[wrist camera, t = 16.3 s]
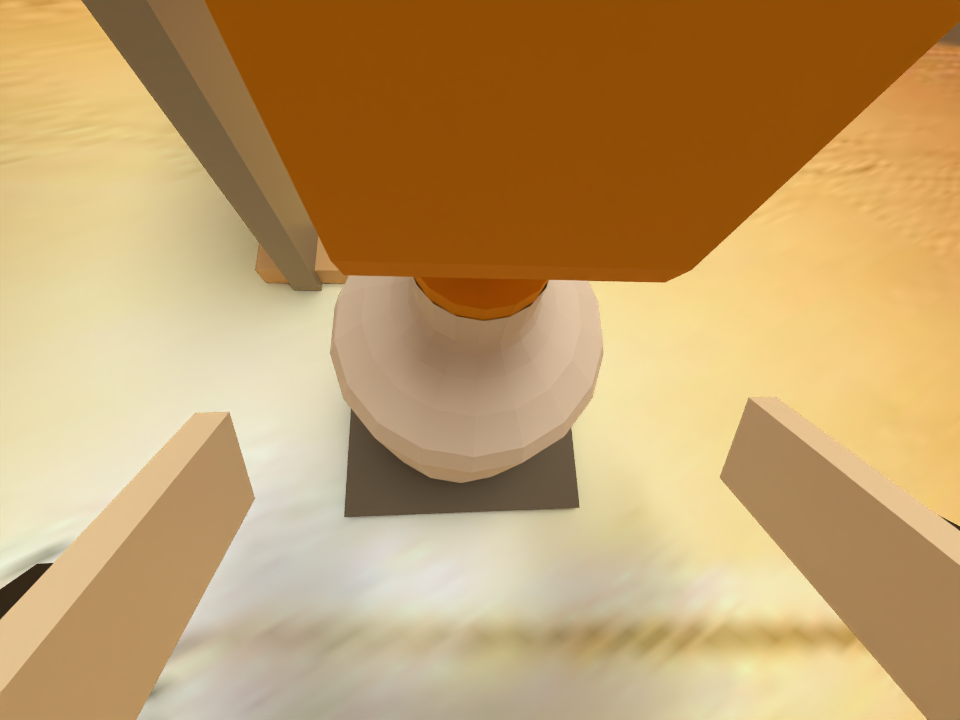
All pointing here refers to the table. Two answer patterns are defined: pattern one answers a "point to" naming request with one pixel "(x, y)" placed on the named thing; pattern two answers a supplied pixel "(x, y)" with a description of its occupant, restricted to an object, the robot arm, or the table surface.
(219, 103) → the divider
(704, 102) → the soap bottle
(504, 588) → the table surface
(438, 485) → the coaster
